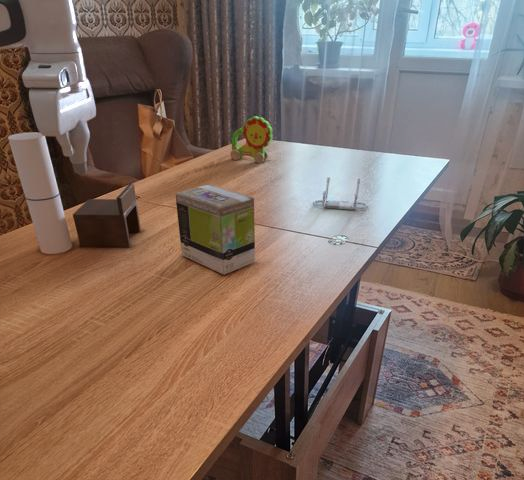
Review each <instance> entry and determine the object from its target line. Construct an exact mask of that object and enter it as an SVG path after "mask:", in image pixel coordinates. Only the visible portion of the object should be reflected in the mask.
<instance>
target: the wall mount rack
mask: <svg viewBox="0 0 524 480" xmlns="http://www.w3.org/2000/svg"><path fill="white" fill-rule="evenodd" d="M330 181H331V178H330V177H329V176H328V177H326V188H325V190H324V191H323V192H322V199H320V200H315V201H313V202H312V205H313V206H315V207H319V208H320V207H321V208H325V209H337V210H352V211H353V210H364V209H367V208H368V204H367V203H365V202H362V201H361V202H359V201H358V198H359V197H358V196H359V189H360V184H361V178H357V180H356V192H355V193H354V201H351V200H331V199H329V200H328V194H329V185H330ZM319 203H322V204H319ZM357 205H362V206H357Z"/></svg>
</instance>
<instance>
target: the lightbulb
mask: <svg viewBox="0 0 524 480" xmlns="http://www.w3.org/2000/svg"><path fill="white" fill-rule="evenodd" d="M87 125H88V124H87ZM87 125H86V124H85V123H84V122H83V121H82V120H81V119H80V120H78V122H77V125H76V127H75V128H74V129H72V130H70V131H69V134H70V137H69V139H70V142H71V144H72V145H74V151H75V154H74V155H73V156H71V157H69V156H68V157H69V161H70V163H71V164H72V168H73V172H74V173H75V174H77V175H78V176H85V174H86V173H87V172H88V166H87V160H88V158H87V151H88V150H87V149H88V146H89V142H90V137H91V132H90V130H89V129H90V128H89V126H88V127H87Z"/></svg>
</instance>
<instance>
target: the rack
mask: <svg viewBox="0 0 524 480" xmlns="http://www.w3.org/2000/svg"><path fill="white" fill-rule="evenodd" d="M137 202H138V201H137V195H136V190H135V184H134V182H131V183H128V185H126V186H125V188H124V189H123V190H122V191H121V192H120V193H119V195H117V197H116V198H115V199H114V198H113V199H112V198H88V199H87V200H86V201H85V202H84V203H83V204H82V205H81V206H80V207H79V208H78V209H77V210H76V211H74V213H73V214H72V219H73V222H74V226H75V231H76V234H77V238H78V243H79V246H80V248H121V249H122V248H123V249H124V248H126V249H127V248H129V249H130V247H131V246H132V245H131V240H130V233H140V232H141V231H142V227H141V222H140V215H139V207H138V203H137Z"/></svg>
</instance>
